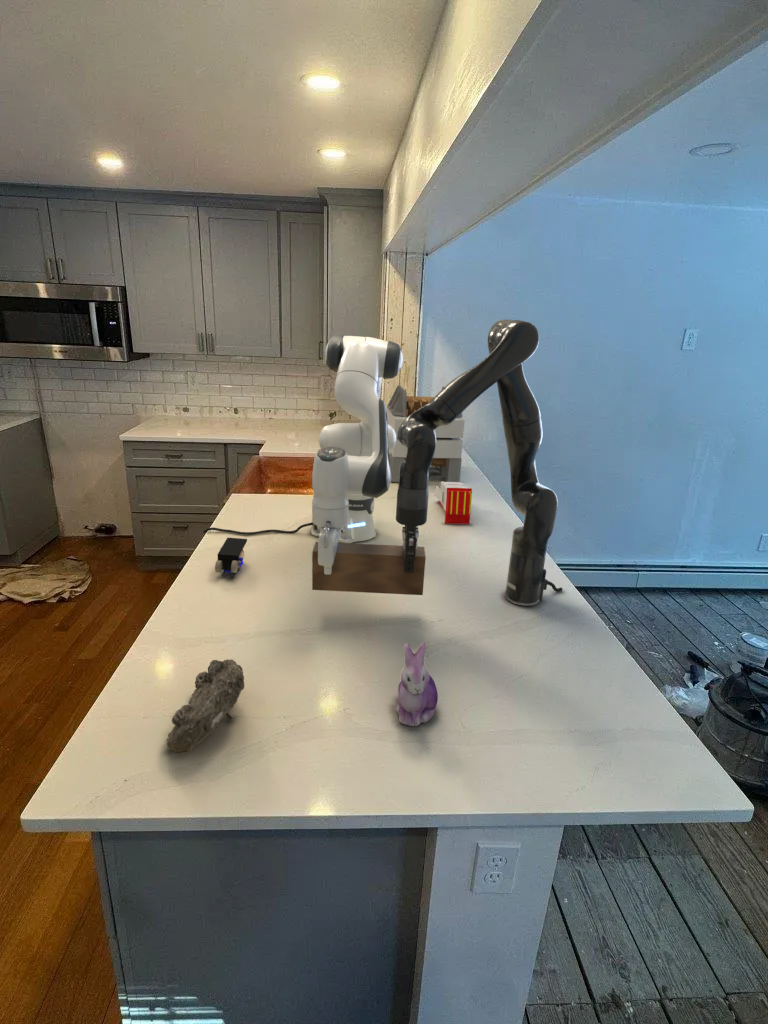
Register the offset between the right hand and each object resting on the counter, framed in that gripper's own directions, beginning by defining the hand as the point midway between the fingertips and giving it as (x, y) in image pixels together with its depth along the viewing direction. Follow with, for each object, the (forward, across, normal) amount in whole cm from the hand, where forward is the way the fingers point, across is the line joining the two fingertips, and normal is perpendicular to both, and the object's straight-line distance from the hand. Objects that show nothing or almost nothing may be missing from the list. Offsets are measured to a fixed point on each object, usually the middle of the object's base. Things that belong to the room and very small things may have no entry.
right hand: (408, 566), depth 142 cm
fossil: (+14, -41, +38) cm, 57 cm away
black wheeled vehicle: (+14, +22, +51) cm, 57 cm away
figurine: (+14, -37, -2) cm, 40 cm away
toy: (+14, +82, -20) cm, 86 cm away
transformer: (+14, +136, -10) cm, 137 cm away
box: (+6, 0, +10) cm, 12 cm away
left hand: (+1, 0, +20) cm, 20 cm away
